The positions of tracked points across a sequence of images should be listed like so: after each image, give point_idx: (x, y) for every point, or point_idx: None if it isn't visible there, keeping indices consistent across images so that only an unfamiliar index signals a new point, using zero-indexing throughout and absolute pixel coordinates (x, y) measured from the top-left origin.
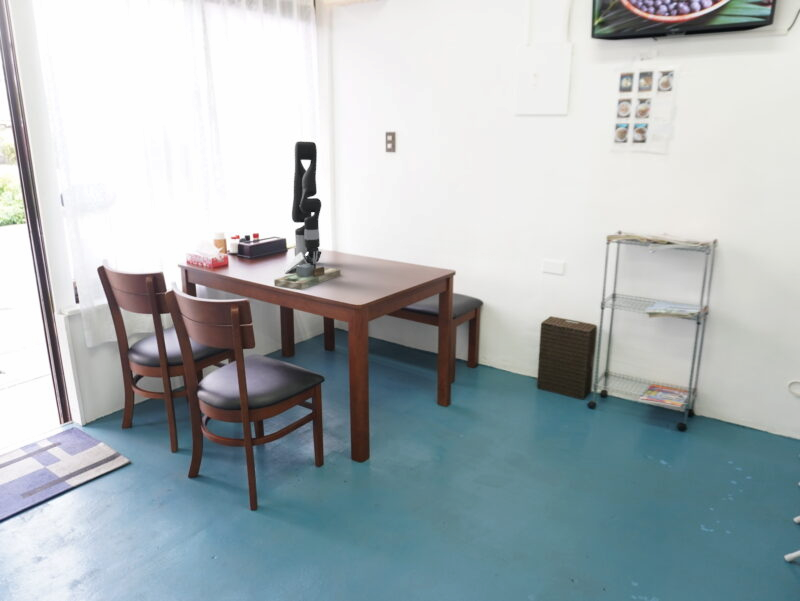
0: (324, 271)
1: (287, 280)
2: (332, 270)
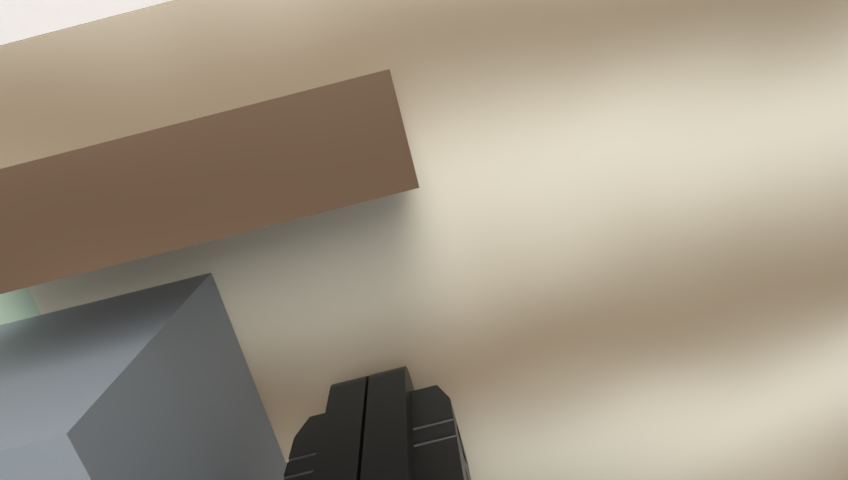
0: (663, 418)
1: None
2: (835, 453)
